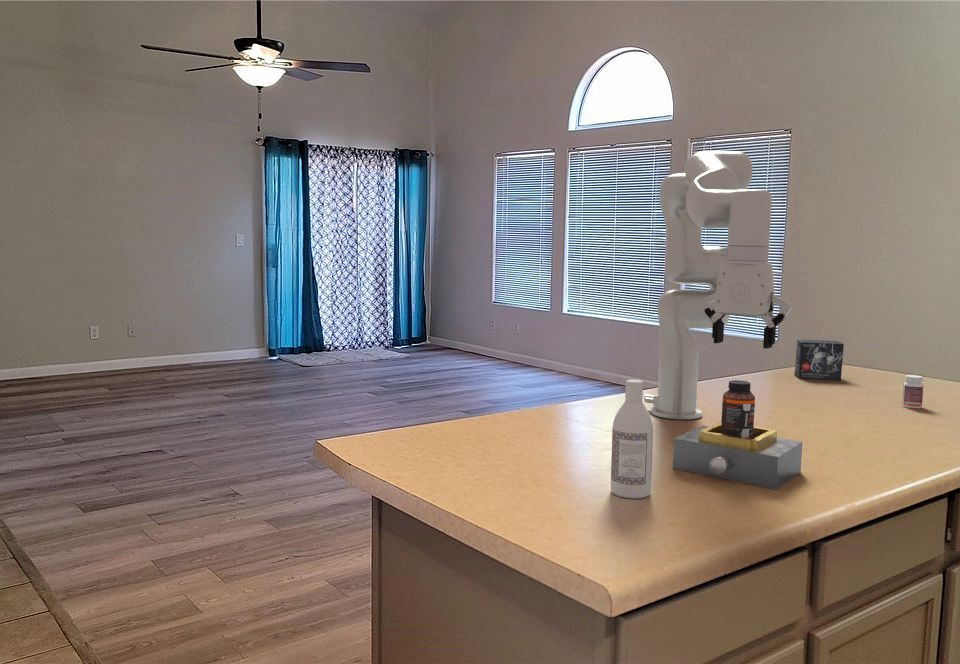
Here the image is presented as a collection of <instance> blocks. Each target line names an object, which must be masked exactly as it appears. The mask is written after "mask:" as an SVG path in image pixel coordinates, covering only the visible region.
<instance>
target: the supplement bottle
mask: <svg viewBox="0 0 960 664" xmlns="http://www.w3.org/2000/svg"><path fill="white" fill-rule="evenodd" d="M751 384H752V383H751V382H750V381H747V380H737V379H735V380H728V385H727V386H728V390H727V391H725V392H724V393H723V395H722V403H721V421H720V422H721V434H725V435H731V436H737V437H743V438H749V439H753V427H754V424H755V422H754V421H755V406H756V401H755V400H756V396H755V394H753V393H752V391H751Z"/></svg>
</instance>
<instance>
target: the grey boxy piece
mask: <svg viewBox="0 0 960 664" xmlns="http://www.w3.org/2000/svg"><path fill="white" fill-rule="evenodd" d="M777 435H778V430H775V429H772V428H768V427H767V428H765V427H760V426H754V427H753V439H749V438H743V437H737V436H731V435H725V434H721V421H718V422H716V423H714V424H712V425H710V426H709V425H708V426H707V425H701V426H698V427H697V428H694V429H691V430H689V431H686V432H685V433H683V434H680V435H678V436H675V437H674V438H673V445H672V446H673V448H672V449H673V450H672V467H671V468H672V469H674V470H679V471H683V472H687V473H694V474H698V475H703V476H708V477H712V478H713V477H714V478H718V479H723V480H729V481H732V482H737V483H742V484H748V485H752V486H757V487H761V488H767V489H771V490H777V489H779V488H781V487H782V486H783V485H784V484H785V485H786V483H787V482H789V481H790V480H792V479H794V477H796V476H797V475H799V474H800V473H801V471H802V458H803V457H802V456H803V455H802V453H803V441H800V440H796V439H795V440H794V439H793V440H792V439H787V438H780V437H778V436H777Z"/></svg>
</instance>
